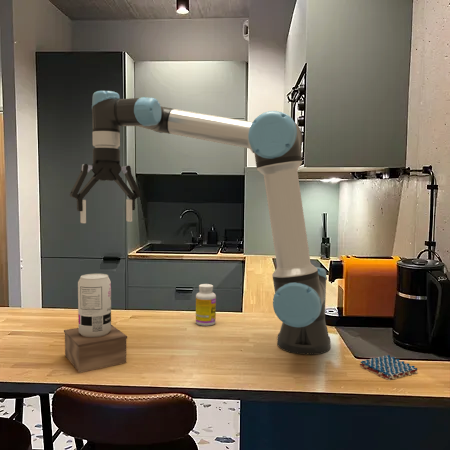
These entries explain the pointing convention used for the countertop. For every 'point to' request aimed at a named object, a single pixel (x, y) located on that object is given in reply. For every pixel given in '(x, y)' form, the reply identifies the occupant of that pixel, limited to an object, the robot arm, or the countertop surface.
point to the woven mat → (388, 367)
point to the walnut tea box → (95, 349)
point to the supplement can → (94, 305)
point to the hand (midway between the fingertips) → (106, 222)
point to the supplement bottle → (205, 305)
